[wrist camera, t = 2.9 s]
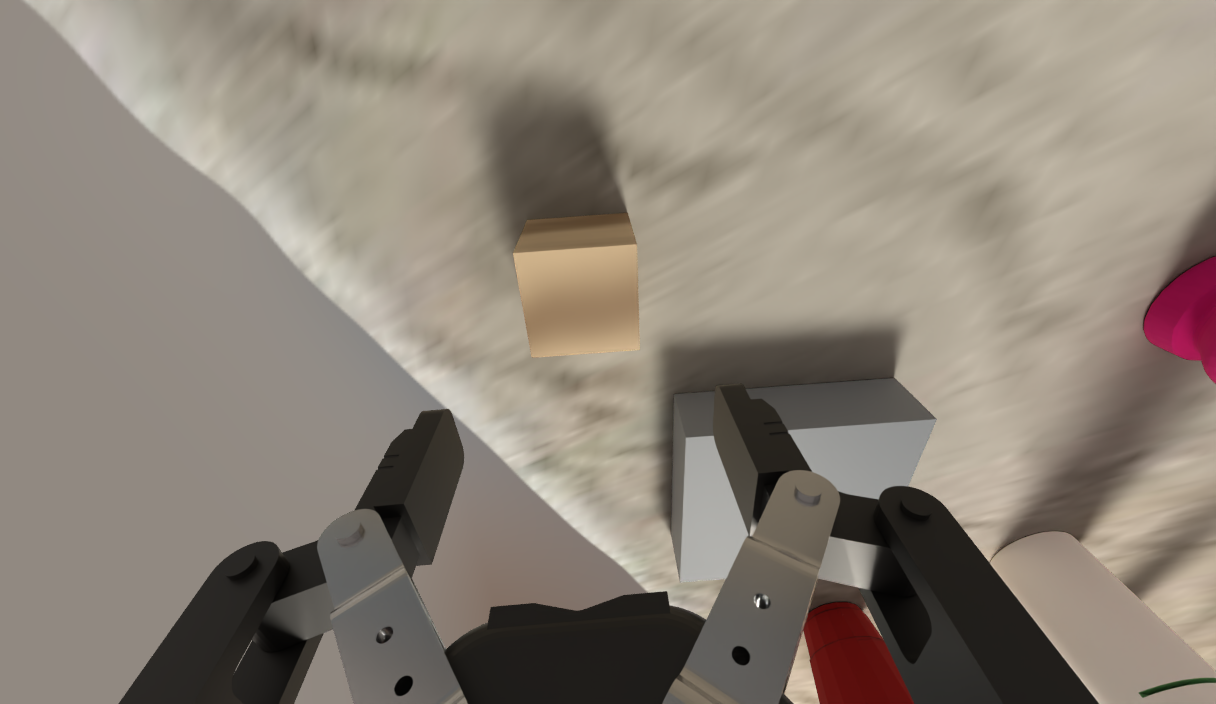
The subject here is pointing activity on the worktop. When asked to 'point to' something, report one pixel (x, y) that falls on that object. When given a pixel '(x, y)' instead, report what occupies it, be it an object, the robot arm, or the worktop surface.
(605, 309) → the oak cube
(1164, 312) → the pepper mill
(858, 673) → the plastic cup
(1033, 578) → the cylindrical container
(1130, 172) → the worktop surface
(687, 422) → the slate plinth
